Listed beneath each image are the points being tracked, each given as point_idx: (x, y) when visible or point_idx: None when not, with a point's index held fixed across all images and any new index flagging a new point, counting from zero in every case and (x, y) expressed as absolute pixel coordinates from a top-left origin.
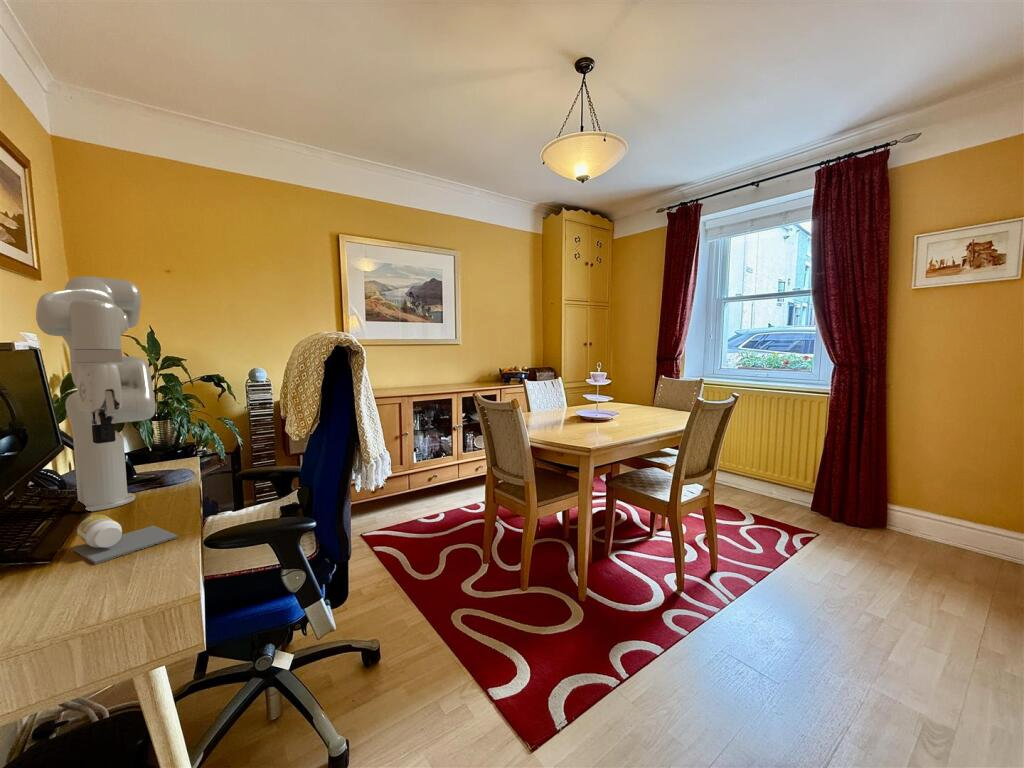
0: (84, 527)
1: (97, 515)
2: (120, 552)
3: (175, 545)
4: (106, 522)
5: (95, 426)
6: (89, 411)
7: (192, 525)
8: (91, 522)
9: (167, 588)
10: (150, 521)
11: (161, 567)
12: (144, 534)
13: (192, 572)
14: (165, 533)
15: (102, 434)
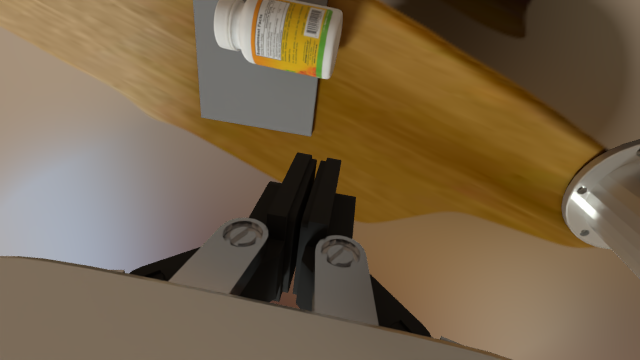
0: (291, 7)
1: (319, 53)
2: (201, 23)
3: (169, 92)
4: (240, 35)
5: (268, 212)
6: (137, 275)
7: (253, 164)
8: (280, 21)
9: None
10: (364, 154)
11: (77, 23)
12: (269, 99)
13: (15, 32)
14: (235, 115)
15: (263, 196)
